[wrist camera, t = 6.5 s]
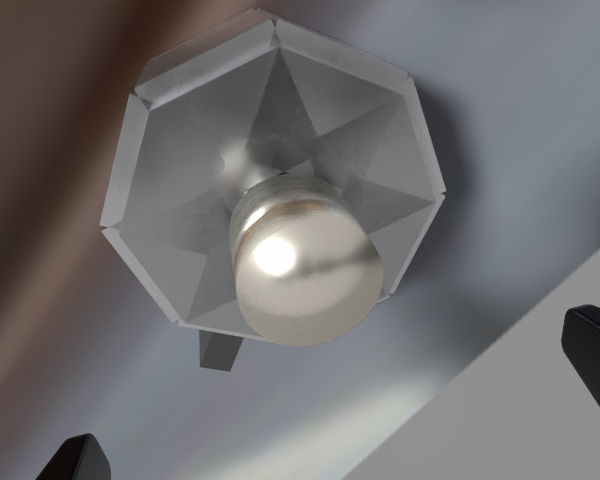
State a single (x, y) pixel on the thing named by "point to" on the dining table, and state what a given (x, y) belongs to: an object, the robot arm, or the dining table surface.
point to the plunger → (301, 261)
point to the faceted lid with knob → (260, 160)
